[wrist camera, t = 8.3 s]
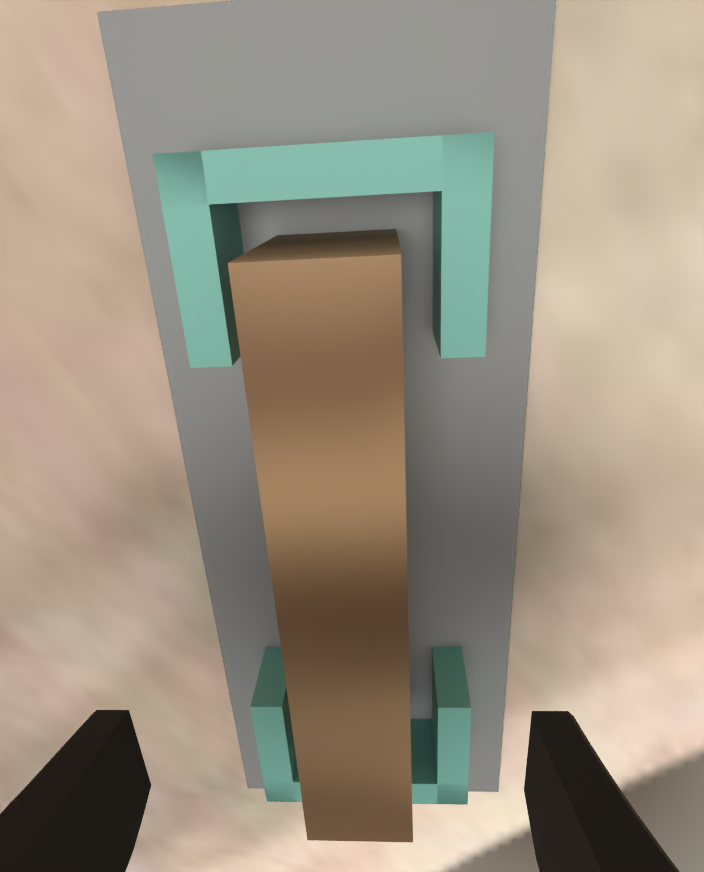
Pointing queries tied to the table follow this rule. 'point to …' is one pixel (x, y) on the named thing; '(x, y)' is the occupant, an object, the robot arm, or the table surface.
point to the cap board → (421, 306)
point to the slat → (335, 513)
